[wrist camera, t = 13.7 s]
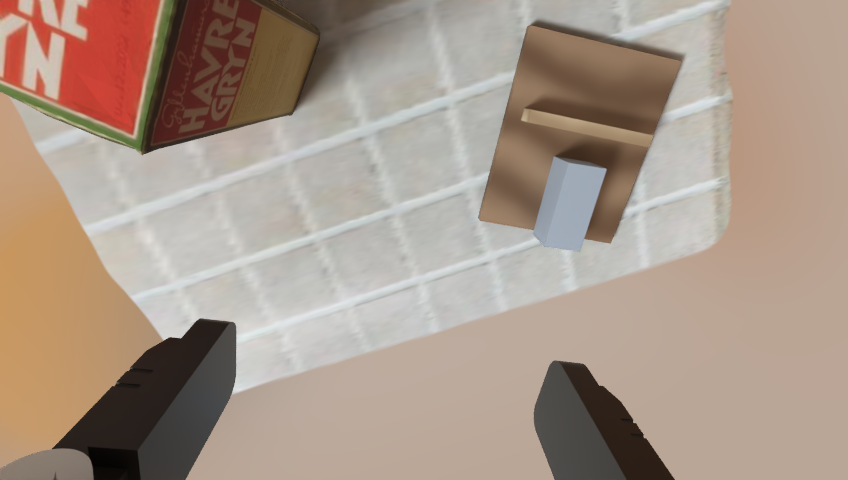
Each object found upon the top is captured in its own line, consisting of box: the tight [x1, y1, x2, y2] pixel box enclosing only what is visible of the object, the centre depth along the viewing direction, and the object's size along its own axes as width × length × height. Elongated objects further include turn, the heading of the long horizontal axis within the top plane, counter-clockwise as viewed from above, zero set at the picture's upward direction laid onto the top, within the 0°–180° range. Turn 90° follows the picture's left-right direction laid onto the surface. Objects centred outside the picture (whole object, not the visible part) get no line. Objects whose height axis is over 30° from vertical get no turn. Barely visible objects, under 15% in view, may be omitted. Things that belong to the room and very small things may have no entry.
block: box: [533, 156, 607, 252], centre depth 42 cm, size 4×4×9 cm
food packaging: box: [0, 0, 320, 155], centre depth 26 cm, size 13×9×25 cm
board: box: [478, 25, 682, 243], centre depth 41 cm, size 20×16×4 cm
